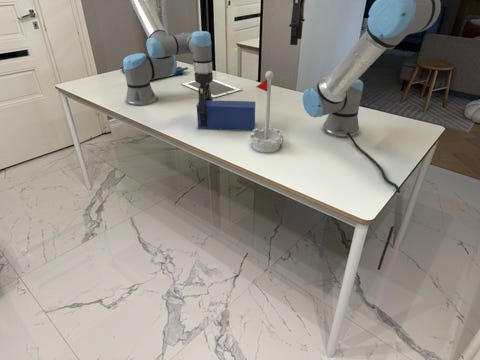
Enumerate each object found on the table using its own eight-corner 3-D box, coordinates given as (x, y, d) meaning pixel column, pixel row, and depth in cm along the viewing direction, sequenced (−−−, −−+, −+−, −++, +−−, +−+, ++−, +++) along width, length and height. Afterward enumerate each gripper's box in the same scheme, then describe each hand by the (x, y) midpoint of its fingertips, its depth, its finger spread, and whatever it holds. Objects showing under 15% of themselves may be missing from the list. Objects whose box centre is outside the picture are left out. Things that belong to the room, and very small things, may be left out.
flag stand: (273, 136, 144) (277, 64, 128) (288, 150, 134) (294, 73, 118) (245, 141, 141) (245, 68, 124) (257, 156, 130) (260, 77, 114)
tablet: (181, 84, 205) (181, 83, 205) (208, 77, 216) (208, 77, 216) (213, 98, 185) (213, 97, 185) (241, 90, 196) (241, 89, 196)
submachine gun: (173, 61, 239) (192, 66, 223) (173, 67, 241) (193, 72, 225) (127, 70, 221) (144, 76, 204) (128, 76, 223) (146, 83, 206)
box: (255, 123, 156) (255, 101, 151) (254, 130, 150) (254, 107, 144) (201, 122, 158) (199, 99, 152) (198, 128, 152) (196, 105, 146)
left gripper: (199, 64, 152) (202, 110, 164) (188, 80, 132) (192, 131, 144) (216, 64, 151) (218, 110, 163) (207, 80, 131) (210, 131, 143)
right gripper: (294, -20, 138) (291, 36, 150) (285, -17, 118) (281, 47, 129) (313, -20, 137) (308, 36, 148) (306, -18, 116) (301, 48, 127)
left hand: (206, 120), depth 153 cm, fingers open, 12 cm apart
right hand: (296, 41), depth 139 cm, fingers open, 13 cm apart
